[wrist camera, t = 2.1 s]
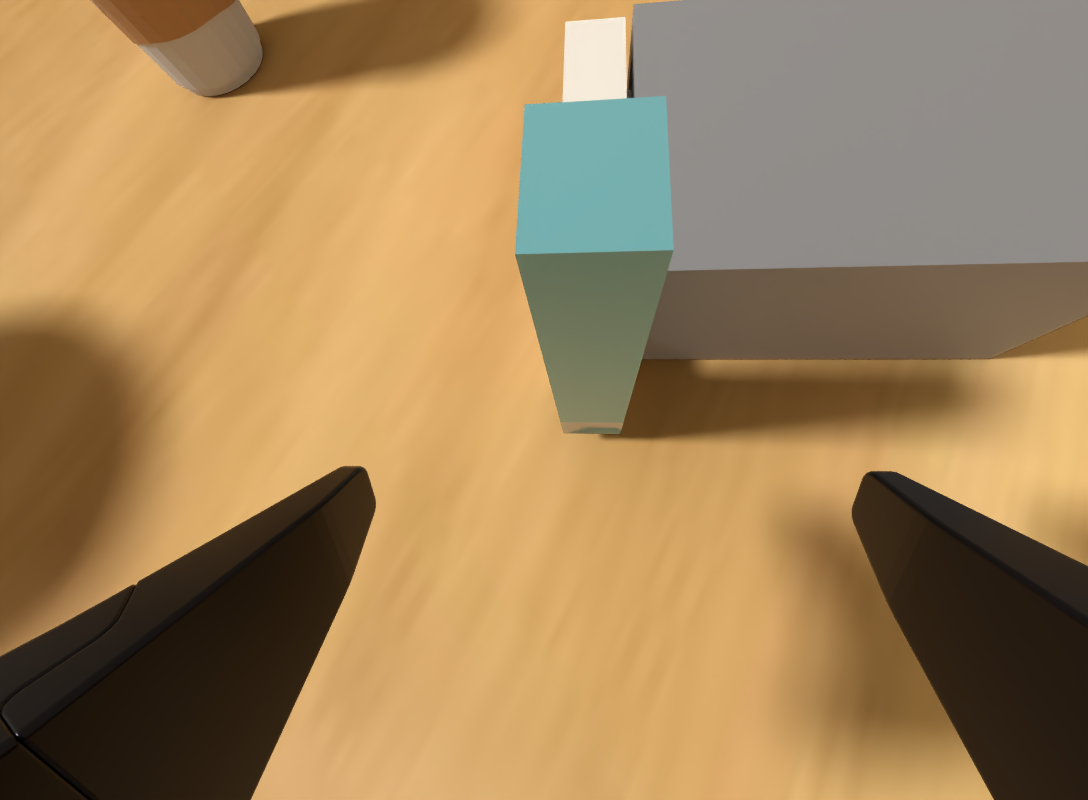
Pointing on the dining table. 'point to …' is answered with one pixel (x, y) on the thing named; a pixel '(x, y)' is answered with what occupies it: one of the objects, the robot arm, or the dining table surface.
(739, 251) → the carton sleeve
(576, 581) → the dining table surface
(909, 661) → the dining table surface
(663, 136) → the teal white angled piece
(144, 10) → the coffee cup
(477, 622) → the dining table surface
